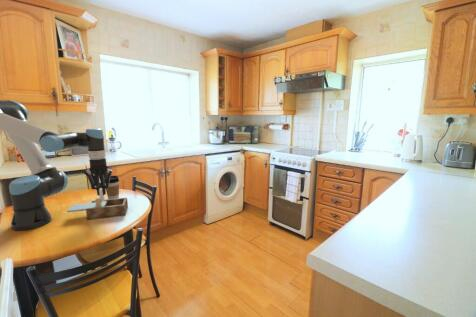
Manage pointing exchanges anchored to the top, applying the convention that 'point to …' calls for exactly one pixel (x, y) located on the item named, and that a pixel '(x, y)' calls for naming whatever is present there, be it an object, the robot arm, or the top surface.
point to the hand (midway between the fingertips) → (102, 200)
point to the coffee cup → (113, 187)
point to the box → (108, 209)
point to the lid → (87, 205)
